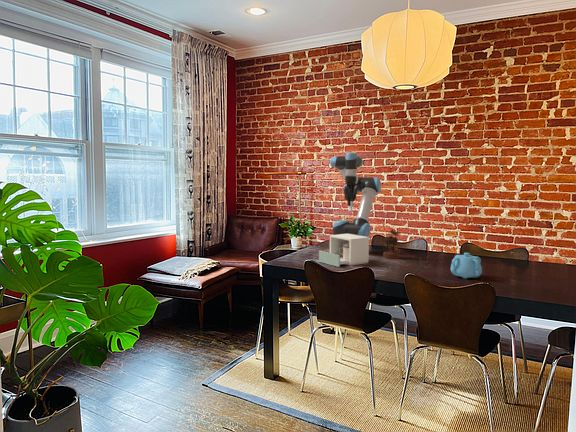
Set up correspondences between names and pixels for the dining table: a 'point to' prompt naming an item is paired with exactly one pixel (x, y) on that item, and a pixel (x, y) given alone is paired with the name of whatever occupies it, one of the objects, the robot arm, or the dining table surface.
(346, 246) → the teacup with lid
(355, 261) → the housing
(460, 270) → the decorative pot
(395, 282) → the dining table surface
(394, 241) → the bird nest figurine
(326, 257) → the tray
